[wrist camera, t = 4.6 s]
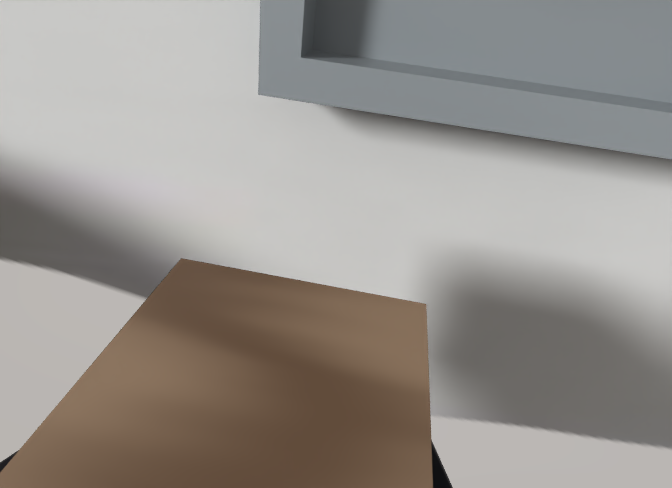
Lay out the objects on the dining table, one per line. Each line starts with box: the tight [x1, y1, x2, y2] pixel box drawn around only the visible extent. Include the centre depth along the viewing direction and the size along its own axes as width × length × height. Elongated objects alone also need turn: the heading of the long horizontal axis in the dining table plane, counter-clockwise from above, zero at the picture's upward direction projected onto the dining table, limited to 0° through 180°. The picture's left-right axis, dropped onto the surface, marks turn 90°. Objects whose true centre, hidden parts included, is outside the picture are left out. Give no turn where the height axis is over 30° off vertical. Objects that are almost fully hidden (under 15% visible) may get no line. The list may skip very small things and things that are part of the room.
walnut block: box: [0, 258, 433, 488], centre depth 8 cm, size 5×5×5 cm
